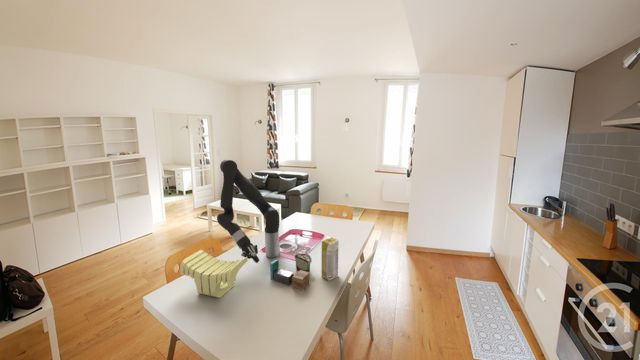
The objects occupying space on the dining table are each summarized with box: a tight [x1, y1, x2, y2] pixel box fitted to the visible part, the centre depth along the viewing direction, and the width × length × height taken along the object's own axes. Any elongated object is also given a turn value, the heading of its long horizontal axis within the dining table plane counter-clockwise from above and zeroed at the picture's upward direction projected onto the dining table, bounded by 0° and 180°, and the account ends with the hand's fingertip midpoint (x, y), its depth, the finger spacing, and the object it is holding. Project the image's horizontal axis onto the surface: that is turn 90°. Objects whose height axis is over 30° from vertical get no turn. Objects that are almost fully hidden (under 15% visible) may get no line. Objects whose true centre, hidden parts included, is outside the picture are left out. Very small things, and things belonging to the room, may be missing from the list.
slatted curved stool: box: [179, 249, 249, 298], centre depth 145 cm, size 30×16×18 cm, turn 73°
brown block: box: [292, 270, 311, 292], centre depth 150 cm, size 8×6×7 cm
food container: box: [294, 253, 313, 273], centre depth 165 cm, size 12×6×10 cm, turn 47°
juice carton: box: [320, 236, 339, 282], centre depth 158 cm, size 9×8×24 cm
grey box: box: [269, 258, 293, 283], centre depth 153 cm, size 6×20×10 cm, turn 64°
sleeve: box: [273, 268, 295, 286], centre depth 155 cm, size 5×10×5 cm, turn 63°
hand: (258, 261), depth 162 cm, fingers closed
